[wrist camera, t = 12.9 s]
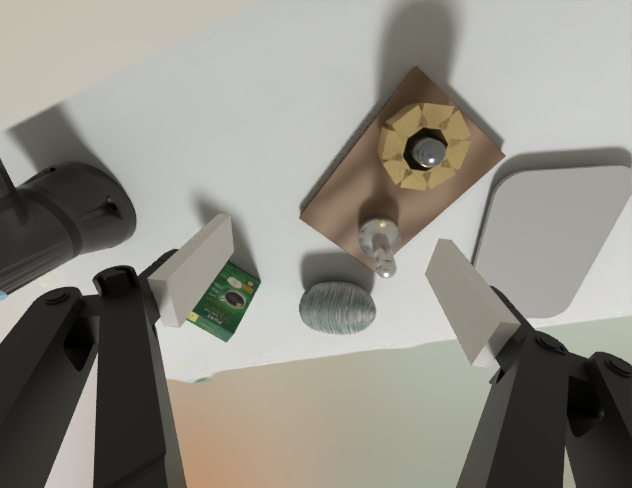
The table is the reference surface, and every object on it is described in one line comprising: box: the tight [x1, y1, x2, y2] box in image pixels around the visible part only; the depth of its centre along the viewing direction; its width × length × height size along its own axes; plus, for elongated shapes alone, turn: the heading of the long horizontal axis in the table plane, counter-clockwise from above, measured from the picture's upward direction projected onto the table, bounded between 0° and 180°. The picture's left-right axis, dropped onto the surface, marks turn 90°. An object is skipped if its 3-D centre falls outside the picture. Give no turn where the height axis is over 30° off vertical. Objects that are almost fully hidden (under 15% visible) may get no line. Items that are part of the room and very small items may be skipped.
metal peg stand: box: [403, 127, 446, 167], centre depth 26 cm, size 6×6×11 cm
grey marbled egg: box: [299, 281, 376, 335], centre depth 44 cm, size 14×10×10 cm
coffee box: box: [186, 261, 261, 342], centre depth 42 cm, size 8×3×13 cm, turn 53°
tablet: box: [473, 165, 632, 318], centre depth 38 cm, size 16×26×2 cm, turn 5°
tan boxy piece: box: [377, 103, 471, 191], centre depth 26 cm, size 8×8×5 cm
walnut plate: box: [299, 66, 506, 272], centre depth 35 cm, size 16×24×2 cm, turn 144°
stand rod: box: [358, 214, 401, 278], centre depth 33 cm, size 6×6×11 cm
